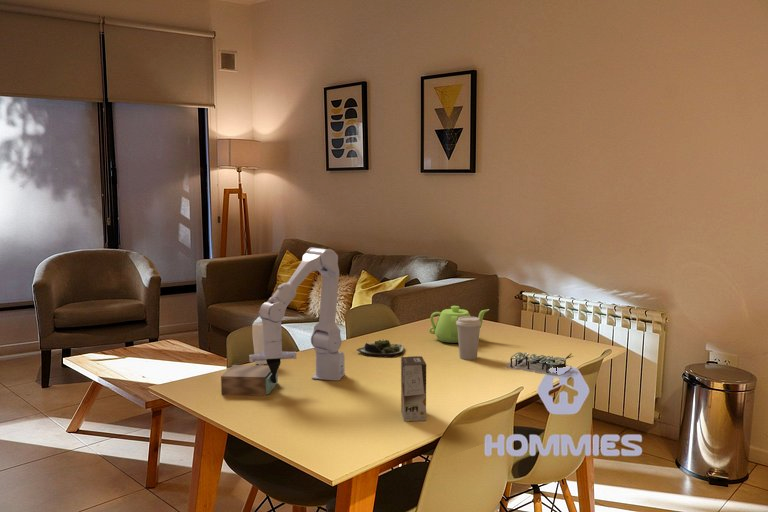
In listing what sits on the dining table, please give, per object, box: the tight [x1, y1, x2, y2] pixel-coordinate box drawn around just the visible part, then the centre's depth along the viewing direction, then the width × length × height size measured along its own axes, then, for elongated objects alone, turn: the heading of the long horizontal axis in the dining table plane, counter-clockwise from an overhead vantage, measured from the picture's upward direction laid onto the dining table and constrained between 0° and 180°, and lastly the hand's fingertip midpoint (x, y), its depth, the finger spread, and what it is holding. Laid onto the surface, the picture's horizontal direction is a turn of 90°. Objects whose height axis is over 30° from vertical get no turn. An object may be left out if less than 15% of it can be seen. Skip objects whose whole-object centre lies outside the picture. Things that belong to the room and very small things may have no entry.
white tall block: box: [251, 321, 268, 365], centre depth 239 cm, size 7×7×15 cm
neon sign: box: [505, 351, 573, 376], centre depth 241 cm, size 21×4×29 cm
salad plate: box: [356, 339, 405, 358], centre depth 258 cm, size 19×18×5 cm
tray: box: [266, 372, 279, 395], centre depth 210 cm, size 14×13×5 cm
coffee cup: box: [456, 315, 483, 361], centre depth 247 cm, size 10×10×15 cm
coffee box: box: [400, 355, 427, 422], centre depth 185 cm, size 9×6×16 cm
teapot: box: [428, 305, 490, 344], centre depth 275 cm, size 19×20×14 cm
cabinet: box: [220, 364, 271, 396], centre depth 210 cm, size 14×13×6 cm
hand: (273, 382), depth 208 cm, fingers closed, pressing on tray
